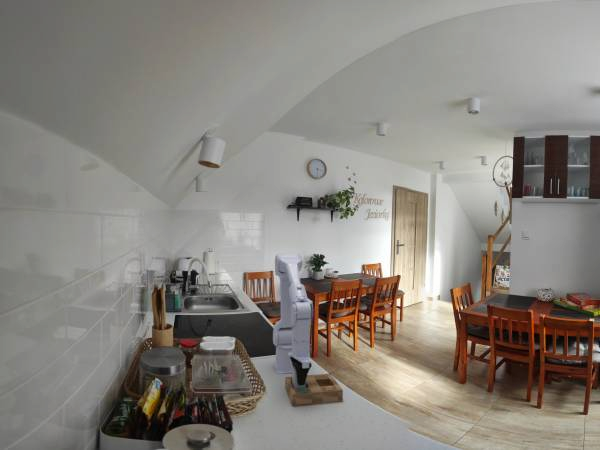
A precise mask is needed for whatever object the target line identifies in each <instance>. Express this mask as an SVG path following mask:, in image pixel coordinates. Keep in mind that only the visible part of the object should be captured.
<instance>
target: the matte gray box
mask: <svg viewBox="0 0 600 450" xmlns="http://www.w3.org/2000/svg"><path fill="white" fill-rule="evenodd" d="M291 374H292V375H291V377H292V386H293V388H294V389H298V388H306V382H305V385H298V383H297V375H296V370H295V367H293V372H292V373H291Z"/></svg>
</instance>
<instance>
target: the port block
mask: <svg viewBox="0 0 600 450" xmlns="http://www.w3.org/2000/svg"><path fill="white" fill-rule="evenodd" d="M284 377H285V378H284V387H285V388H284V389H285V392H286V393H287V396H288V398H289V401H290V403H291V406H292V407H299V406H311V405H318V404H322V405H323V404H329V403H340V402H343V399H344V398H343V397H344V395H343V393H344V391H343V388H342V387H341V386H340V384H339V383H338V382H337V380H336V379H335V378H334V377H333V374H331V373H323V374H321V373H320V374H309V375H308V374H307V378H306V388H298V389H294V388H293V386H292V376H284Z"/></svg>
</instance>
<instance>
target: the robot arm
mask: <svg viewBox="0 0 600 450" xmlns="http://www.w3.org/2000/svg"><path fill="white" fill-rule="evenodd" d="M302 268H303V256H302V255H301V254H300V253H297V254H295V253H292V254H291V253H286V254H285V253H277V254H276V255H275V258H274V273H275V275H276V276H277V277H279V284H280V285H279V287H280V289H279V291H280V293H279V294H280V296H279V298H280V319H279V321H277V322H275V323H274V325H273V330H272V343H273V345H274V346H275V362H273V367H274V370H275V373H276V374H277V375H282V374H292V372H293V367H295V370H296V375H297V383H298V385H305V382H306V378H307V375H308V373H309V372H310V369H311V368H312V364H313V363H312V362H310V356H311V352H310V347H311V345H310V343H311V320H313V317H314V305H313V303H312V300H311V299H309V297H308V295H307V290H306V287H305V285H304V284H303V283H301V278H300V277H301V276H300V272H301V270H302Z"/></svg>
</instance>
